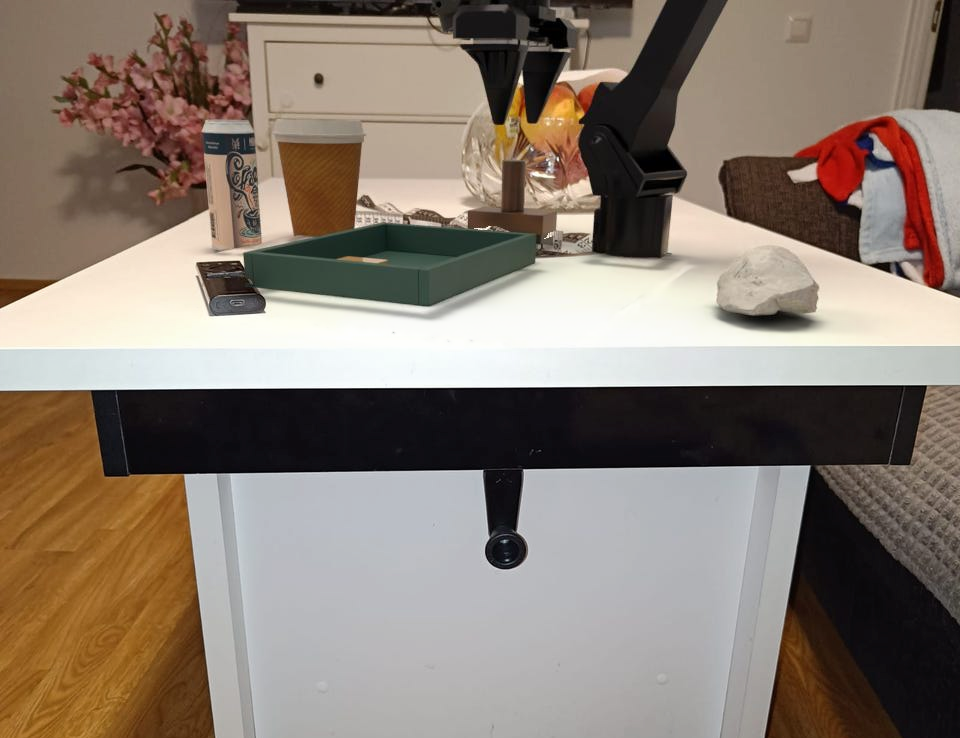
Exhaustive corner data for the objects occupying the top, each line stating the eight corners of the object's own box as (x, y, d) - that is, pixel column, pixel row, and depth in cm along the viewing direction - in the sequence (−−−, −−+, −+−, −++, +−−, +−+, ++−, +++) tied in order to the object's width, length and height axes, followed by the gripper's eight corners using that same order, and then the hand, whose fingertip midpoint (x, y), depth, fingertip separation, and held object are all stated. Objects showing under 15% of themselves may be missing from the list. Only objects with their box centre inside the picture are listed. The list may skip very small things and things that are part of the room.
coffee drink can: (249, 255, 89) (239, 121, 84) (203, 253, 90) (191, 120, 85) (270, 248, 93) (261, 120, 89) (225, 246, 94) (215, 119, 89)
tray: (535, 271, 84) (536, 233, 83) (428, 317, 65) (428, 270, 64) (383, 257, 89) (382, 222, 88) (245, 296, 71) (242, 252, 70)
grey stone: (846, 322, 66) (858, 251, 65) (768, 334, 62) (779, 259, 61) (755, 300, 73) (763, 235, 71) (679, 310, 69) (686, 242, 67)
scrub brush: (555, 245, 99) (559, 161, 96) (541, 250, 95) (545, 163, 92) (483, 239, 102) (484, 157, 99) (466, 244, 98) (467, 159, 95)
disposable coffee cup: (386, 238, 101) (384, 120, 96) (328, 249, 94) (323, 121, 89) (320, 231, 106) (315, 118, 101) (259, 240, 98) (251, 118, 94)
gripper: (483, -36, 99) (480, 120, 105) (400, -64, 83) (402, 123, 89) (583, -40, 95) (574, 123, 101) (516, -69, 79) (510, 126, 85)
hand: (516, 124), depth 94 cm, fingers open, 9 cm apart
